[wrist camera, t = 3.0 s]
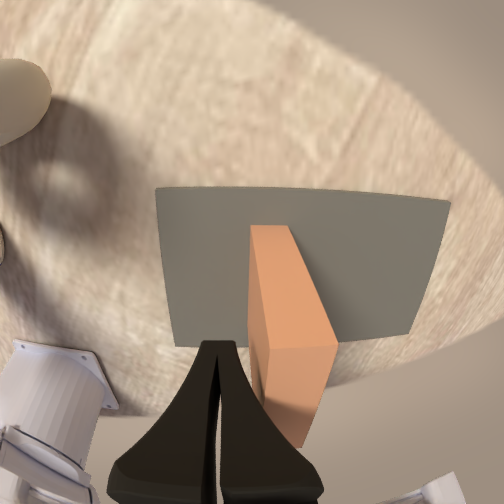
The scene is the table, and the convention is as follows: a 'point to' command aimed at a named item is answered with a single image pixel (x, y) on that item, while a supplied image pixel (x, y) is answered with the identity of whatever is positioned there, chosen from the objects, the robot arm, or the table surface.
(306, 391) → the tile
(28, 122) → the donut
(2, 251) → the energy drink
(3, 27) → the table surface
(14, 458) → the robot arm
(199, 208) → the mat
